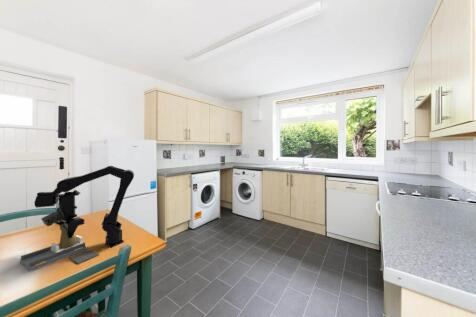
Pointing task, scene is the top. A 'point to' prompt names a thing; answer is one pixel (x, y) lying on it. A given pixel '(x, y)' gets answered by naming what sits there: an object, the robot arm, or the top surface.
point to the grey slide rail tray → (48, 256)
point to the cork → (66, 238)
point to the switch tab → (56, 248)
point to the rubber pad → (84, 256)
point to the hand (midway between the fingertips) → (67, 236)
